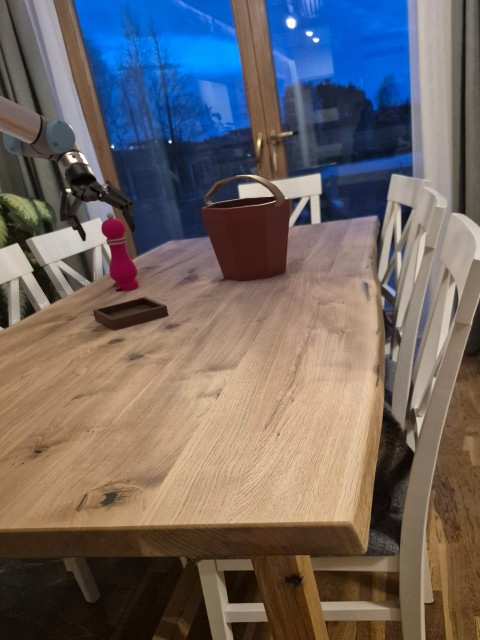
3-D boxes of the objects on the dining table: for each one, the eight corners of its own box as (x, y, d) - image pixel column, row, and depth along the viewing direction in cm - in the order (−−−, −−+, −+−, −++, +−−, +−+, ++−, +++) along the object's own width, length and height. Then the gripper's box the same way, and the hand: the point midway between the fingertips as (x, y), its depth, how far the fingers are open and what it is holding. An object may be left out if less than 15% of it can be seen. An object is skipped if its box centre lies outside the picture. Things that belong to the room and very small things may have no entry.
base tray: (95, 319, 132) (92, 310, 131) (147, 306, 138) (144, 296, 137) (113, 330, 122) (111, 320, 121) (168, 315, 128) (166, 305, 127)
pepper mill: (133, 283, 162) (116, 209, 154) (145, 287, 157) (128, 210, 148) (109, 290, 158) (90, 214, 150) (120, 293, 153) (101, 215, 145)
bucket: (198, 277, 161) (181, 181, 151) (260, 259, 174) (248, 171, 163) (251, 287, 144) (235, 180, 133) (315, 267, 156) (306, 168, 146)
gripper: (30, 169, 150) (62, 232, 145) (122, 157, 163) (154, 215, 158) (31, 190, 157) (62, 251, 152) (120, 177, 169) (151, 233, 164)
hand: (109, 233), depth 155 cm, fingers open, 13 cm apart
